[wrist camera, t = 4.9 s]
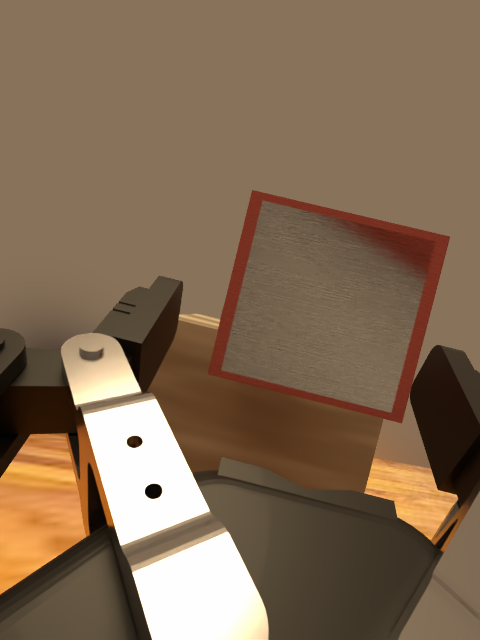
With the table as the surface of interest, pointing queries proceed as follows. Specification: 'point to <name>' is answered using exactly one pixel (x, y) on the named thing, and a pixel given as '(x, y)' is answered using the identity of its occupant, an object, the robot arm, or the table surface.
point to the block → (328, 306)
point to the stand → (257, 420)
